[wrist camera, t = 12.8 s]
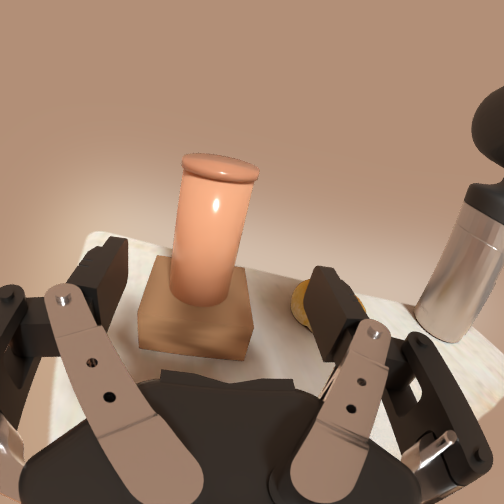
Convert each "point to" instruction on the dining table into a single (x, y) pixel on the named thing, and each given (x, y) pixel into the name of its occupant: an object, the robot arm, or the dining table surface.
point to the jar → (209, 226)
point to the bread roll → (297, 303)
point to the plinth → (194, 319)
